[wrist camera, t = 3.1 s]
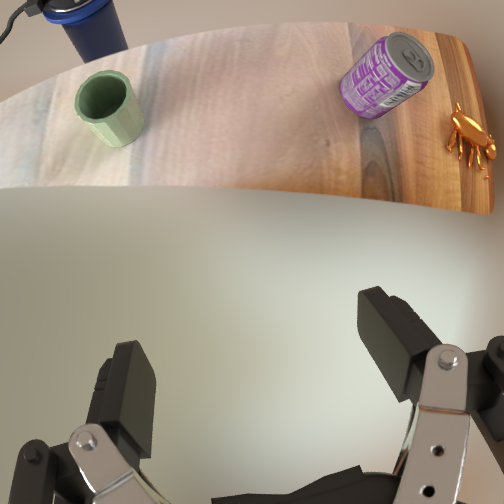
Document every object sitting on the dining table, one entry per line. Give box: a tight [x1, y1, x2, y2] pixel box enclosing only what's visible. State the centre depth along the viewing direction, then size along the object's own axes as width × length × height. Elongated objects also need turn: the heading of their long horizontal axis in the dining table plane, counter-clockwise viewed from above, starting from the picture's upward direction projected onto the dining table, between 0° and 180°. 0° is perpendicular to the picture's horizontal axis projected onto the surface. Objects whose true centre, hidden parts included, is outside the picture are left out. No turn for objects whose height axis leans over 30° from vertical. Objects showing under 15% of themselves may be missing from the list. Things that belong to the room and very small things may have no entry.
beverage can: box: [340, 32, 434, 119], centre depth 31 cm, size 7×7×12 cm
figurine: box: [446, 102, 497, 179], centre depth 38 cm, size 12×4×11 cm
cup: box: [74, 70, 144, 147], centre depth 29 cm, size 6×6×8 cm
